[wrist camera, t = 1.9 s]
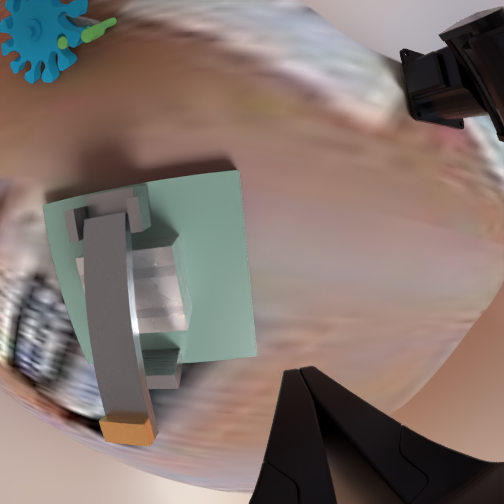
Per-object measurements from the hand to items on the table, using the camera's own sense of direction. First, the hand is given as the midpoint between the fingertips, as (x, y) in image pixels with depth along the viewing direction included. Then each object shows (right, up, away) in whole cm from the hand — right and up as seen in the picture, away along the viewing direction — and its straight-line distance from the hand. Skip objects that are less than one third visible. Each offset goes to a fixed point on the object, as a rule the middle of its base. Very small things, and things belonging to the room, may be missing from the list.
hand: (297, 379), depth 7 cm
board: (-9, +2, +11) cm, 14 cm away
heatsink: (-8, +2, +10) cm, 13 cm away
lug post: (-8, -4, +13) cm, 15 cm away
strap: (-8, 0, +5) cm, 9 cm away
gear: (-16, +20, +6) cm, 26 cm away
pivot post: (-9, +7, +10) cm, 15 cm away
